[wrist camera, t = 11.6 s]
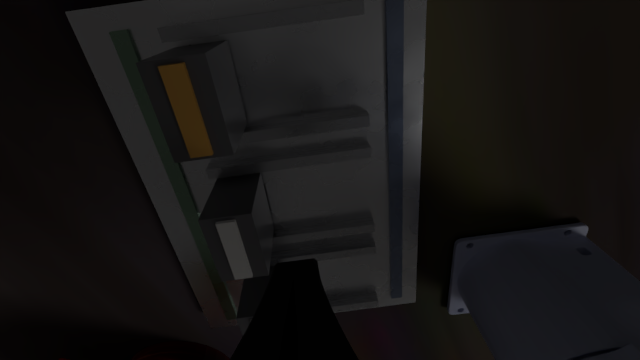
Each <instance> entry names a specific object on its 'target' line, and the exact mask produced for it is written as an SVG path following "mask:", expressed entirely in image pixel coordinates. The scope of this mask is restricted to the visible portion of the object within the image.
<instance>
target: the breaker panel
mask: <svg viewBox="0 0 640 360" xmlns="http://www.w3.org/2000/svg"><path fill="white" fill-rule="evenodd" d="M426 6H427V0H144V1H137V2H130V3H123V4H116V5H109V6H102V7H95V8H88V9H81V10H74V11H67V12H65V13H66V16H67V18H68V20H69V22H70V24H71V26H72V29H73V31H74V33H75V35H76V37H77V39H78V42H79V44H80V46H81V48H82V50H83V52H84V55H85V57H86V59H87V61H88V63H89V66H90V68H91V70H92V72H93V74H94V76H95V79H96V81H97V83H98V85H99V87H100V89H101V92H102V94H103V96H104V98H105V100H106V102H107V105H108V107H109V109H110V111H111V113H112V115H113V118H114V120H115V122H116V124H117V126H118V129H119V131H120V133H121V135H122V137H123V139H124V142H125V144H126V146H127V148H128V150H129V152H130V155H131V157H132V159H133V161H134V163H135V165H136V168H137V170H138V172H139V174H140V176H141V178H142V181H143V183H144V185H145V187H146V189H147V192H148V194H149V196H150V198H151V200H152V202H153V205H154V207H155V209H156V211H157V213H158V215H159V218H160V220H161V222H162V224H163V226H164V228H165V231H166V233H167V235H168V237H169V239H170V241H171V244H172V246H173V248H174V250H175V252H176V255H177V257H178V259H179V261H180V263H181V265H182V268H183V270H184V272H185V274H186V276H187V278H188V281H189V283H190V285H191V287H192V289H193V291H194V294H195V296H196V298H197V300H198V302H199V304H200V307H201V309H202V311H203V313H204V315H205V318H206V320H207V322H208V324H209V326H210V328H211V329H213V328H221V327H228V326H236V325H238V322H237V320H236V316H237V311H238V306H239V301H240V296H241V291H242V286H243V281H244V279H238V280H230V281H221V279H220V276H219V274H218V271H217V268H216V266H215V263H214V261H213V258H212V256H211V253H210V250H209V248H208V245H207V243H206V240H205V238H204V235H203V232H202V230H201V227H200V225H199V222H198V219H199V217H200V215H201V213H202V211H203V208H204V206H205V204H206V202H207V200H208V197H209V195H210V193H211V191H212V189H213V186H214V184H215V182H216V180H217V178H224V177H231V176H239V175H246V174H254V173H261V176H262V180H263V184H264V189H265V193H266V197H267V201H268V205H269V209H270V213H271V217H272V221H273V225H274V233H273V243H272V252H271V261H270V267H274V266H275V265H276V264H277V263H281V262H289V261H296V260H304V259H311V258H314V259H316V260H317V262H318V268H319V273H320V278H321V282H322V285H323V288H324V290H325V293H326V296H327V298H328V301H329V303H330V305H331V307H332V310H333V312H334V313H336V312H344V311H351V310H359V309H367V308H375V307H382V306H390V305H398V304H405V303H413V302H416V275H417V248H418V221H419V194H420V167H421V140H422V113H423V86H424V59H425V33H426ZM225 40H227V41H228V45H229V49H230V53H231V57H232V61H233V65H234V70H235V74H236V78H237V82H238V86H239V90H240V94H241V98H242V102H243V106H244V110H245V114H246V118H247V122H248V123H247V125H246V127H245V130H244V132H243V135H242V137H241V139H240V142H239V144H238V147H237V149H236V151H235V154H234V155H230V156H223V157H216V158H208V159H201V160H194V161H186V162H179V163H174V160H173V158H172V155H171V153H170V150H169V148H168V145H167V142H166V140H165V137H164V135H163V132H162V130H161V127H160V124H159V122H158V119H157V117H156V114H155V112H154V109H153V107H152V104H151V101H150V99H149V96H148V94H147V91H146V89H145V86H144V84H143V81H142V78H141V76H140V73H139V71H138V68H137V66H136V62H139V61H141V60H144V59H146V58H149V57H152V56H154V55H157V54H159V53H162V52H164V51H167V50H169V49H172V48H175V47H182V46H189V45H197V44H204V43H211V42H218V41H225Z"/></svg>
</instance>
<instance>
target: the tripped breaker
mask: <svg viewBox="0 0 640 360" xmlns="http://www.w3.org/2000/svg"><path fill="white" fill-rule="evenodd" d="M136 66H137V68H138V71H139V73H140V76H141V78H142V81H143V84H144V86H145V89H146V91H147V94H148V96H149V99H150V101H151V104H152V107H153V109H154V112H155V114H156V117H157V119H158V122H159V124H160V127H161V130H162V132H163V135H164V137H165V140H166V142H167V145H168V148H169V150H170V153H171V155H172V158H173V160H174V163H179V162H186V161H194V160H201V159H208V158H216V157H223V156H230V155H234V154H235V151H236V149H237V147H238V144H239V142H240V139H241V137H242V135H243V132H244V130H245V127H246V125H247V123H248V122H247V118H246V114H245V110H244V106H243V102H242V98H241V94H240V90H239V86H238V82H237V78H236V74H235V70H234V65H233V61H232V57H231V53H230V49H229V45H228V41H227V40H225V41H218V42H211V43H204V44H197V45H189V46H182V47H175V48H172V49H169V50H167V51H164V52H162V53H159V54H157V55H154V56H152V57H149V58H146V59H144V60H141V61H139V62H136Z"/></svg>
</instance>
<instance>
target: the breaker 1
mask: <svg viewBox="0 0 640 360" xmlns="http://www.w3.org/2000/svg"><path fill="white" fill-rule="evenodd" d="M198 222H199V225H200V227H201V230H202V232H203V235H204V238H205V240H206V243H207V245H208V248H209V250H210V253H211V256H212V258H213V261H214V263H215V266H216V268H217V271H218V274H219V276H220V279H221V281H230V280H238V279H245V278H253V277H260V276H268V275H269V270H270V261H271V252H272V243H273V233H274V225H273V221H272V217H271V213H270V209H269V205H268V201H267V197H266V193H265V189H264V184H263V180H262V176H261V173H254V174H246V175H239V176H231V177H224V178H217V180H216V182H215V184H214V186H213V189H212V191H211V193H210V195H209V197H208V200H207V202H206V204H205V206H204V208H203V211H202V213H201V215H200V217H199V219H198Z"/></svg>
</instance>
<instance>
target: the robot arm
mask: <svg viewBox="0 0 640 360" xmlns="http://www.w3.org/2000/svg"><path fill="white" fill-rule="evenodd" d="M587 232H588V226H587V225H585V224H584V223H573V224H565V225H558V226H550V227H543V228H535V229H528V230H520V231H512V232H505V233H497V234H490V235H482V236H475V237H467V238H460V239H458V240H456V242H455V243H454V249H453V258H452V267H451V276H450V285H449V294H448V303H447V310H448V312H449V314H452V315H455V314H463V313H470V314H471V316H472V318H473V320H474V322H475V323H476V325H477V327H478V329H479V331H480V333H481V334H482V336H483V338H484V340H485V342H486V344H487V346H488V347H489V349H490V351H491V353H492V355H493V357H494V358H495V360H640V281H639V280H637V279H636V278H635V277H634V276H633V275H631V274H630V273H629V272H628V271H627V270H625V269H624V268H623V267H622V266H621V265H619V264H618V263H617V262H616V261H615V260H613V259H612V258H611V257H610V256H609V255H607V254H606V253H605V252H604V251H603V250H601V249H600V248H599V247H598V246H597V245H595V244H594V243H593V242H592V241H591V240H589V239H588V238H587V237H586V234H587ZM469 243H470V244H469ZM467 244H469V245H467ZM230 360H358V358H357V356H356V354H355V353H354V351H353V349H352V347H351V346H350V344H349V342H348V340H347V338H346V336H345V335H344V333H343V331H342V329H341V327H340V325H339V323H338V321H337V319H336V316H335V314H334V312H333V310H332V307H331V305H330V303H329V301H328V298H327V296H326V293H325V290H324V288H323V285H322V282H321V278H320V273H319V268H318V262H317V260H316V259H314V258H311V259H304V260H296V261H289V262H281V263H277V264H276V265H275V266H274V269H273V272H272V275H271V277H270V280H269V283H268V285H267V287H266V290H265V292H264V295H263V297H262V299H261V301H260V303H259V306H258V308H257V310H256V312H255V314H254V316H253V318H252V320H251V322H250V324H249V326H248V328H247V330H246V332H245V334H244V335H243V337H242V339H241V341H240V343H239V345H238V346H237V348H236V350H235V352H234V354H233V355H232V357H231V359H230Z"/></svg>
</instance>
